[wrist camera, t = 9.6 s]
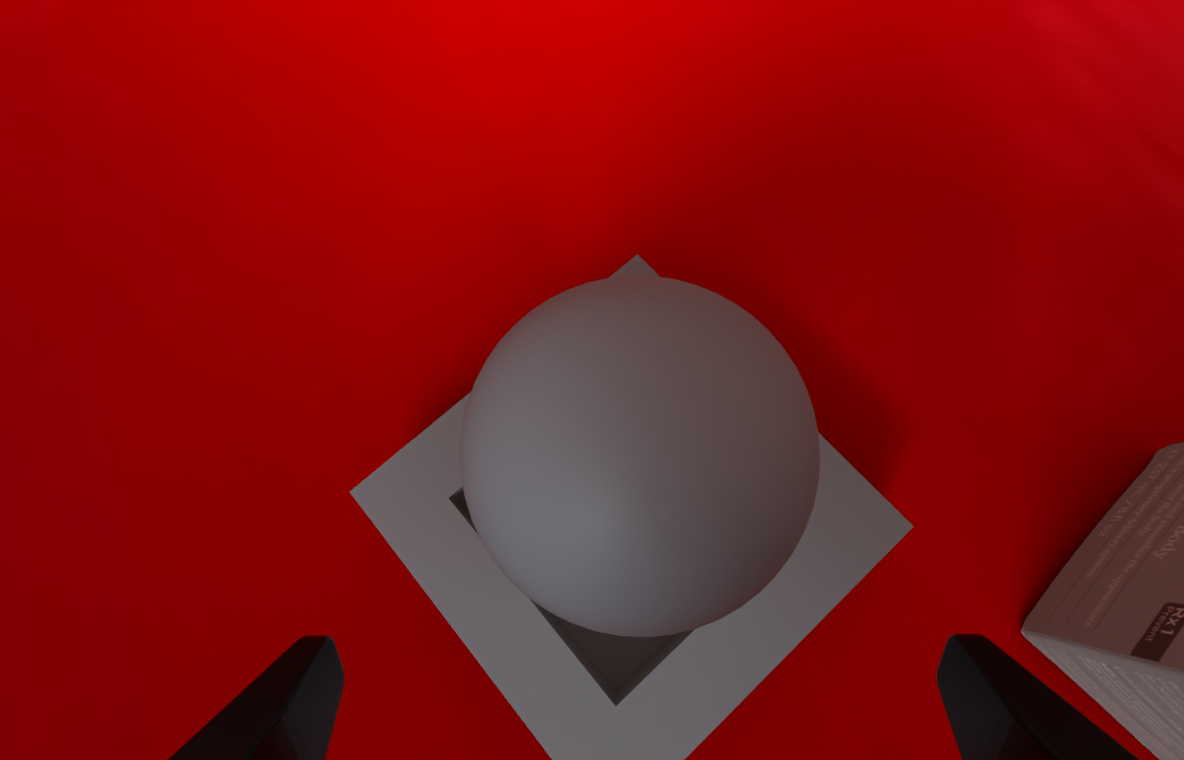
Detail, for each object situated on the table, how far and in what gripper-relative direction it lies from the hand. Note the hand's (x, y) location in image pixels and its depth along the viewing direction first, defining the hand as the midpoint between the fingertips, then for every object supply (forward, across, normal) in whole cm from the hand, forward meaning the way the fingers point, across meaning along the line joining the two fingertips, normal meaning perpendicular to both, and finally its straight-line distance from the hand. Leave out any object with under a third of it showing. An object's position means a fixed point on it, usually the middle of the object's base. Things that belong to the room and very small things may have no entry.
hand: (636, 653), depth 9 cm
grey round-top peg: (+9, 0, +5) cm, 10 cm away
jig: (+10, 0, +6) cm, 11 cm away
